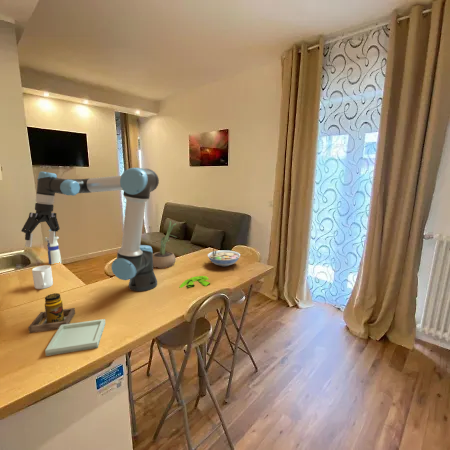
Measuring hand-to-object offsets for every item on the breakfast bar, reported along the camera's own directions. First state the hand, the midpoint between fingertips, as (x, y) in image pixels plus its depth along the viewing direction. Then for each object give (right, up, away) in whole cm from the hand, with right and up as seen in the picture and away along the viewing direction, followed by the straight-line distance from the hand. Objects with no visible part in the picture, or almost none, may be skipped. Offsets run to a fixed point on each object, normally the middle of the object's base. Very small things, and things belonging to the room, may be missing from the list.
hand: (40, 245), depth 130 cm
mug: (-7, -25, +13) cm, 29 cm away
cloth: (+77, -24, +18) cm, 82 cm away
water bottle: (-28, -17, +53) cm, 63 cm away
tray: (+38, -33, -33) cm, 60 cm away
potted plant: (+53, -18, +52) cm, 76 cm away
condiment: (+22, -31, -22) cm, 44 cm away
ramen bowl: (+93, -18, +49) cm, 107 cm away
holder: (+22, -31, -22) cm, 44 cm away
